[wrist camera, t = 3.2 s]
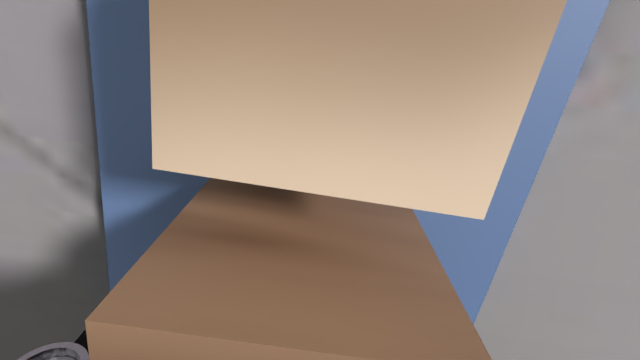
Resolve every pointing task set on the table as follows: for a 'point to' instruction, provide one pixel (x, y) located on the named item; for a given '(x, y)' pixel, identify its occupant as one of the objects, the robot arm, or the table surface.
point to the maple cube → (347, 94)
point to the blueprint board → (179, 189)
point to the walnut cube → (285, 285)
